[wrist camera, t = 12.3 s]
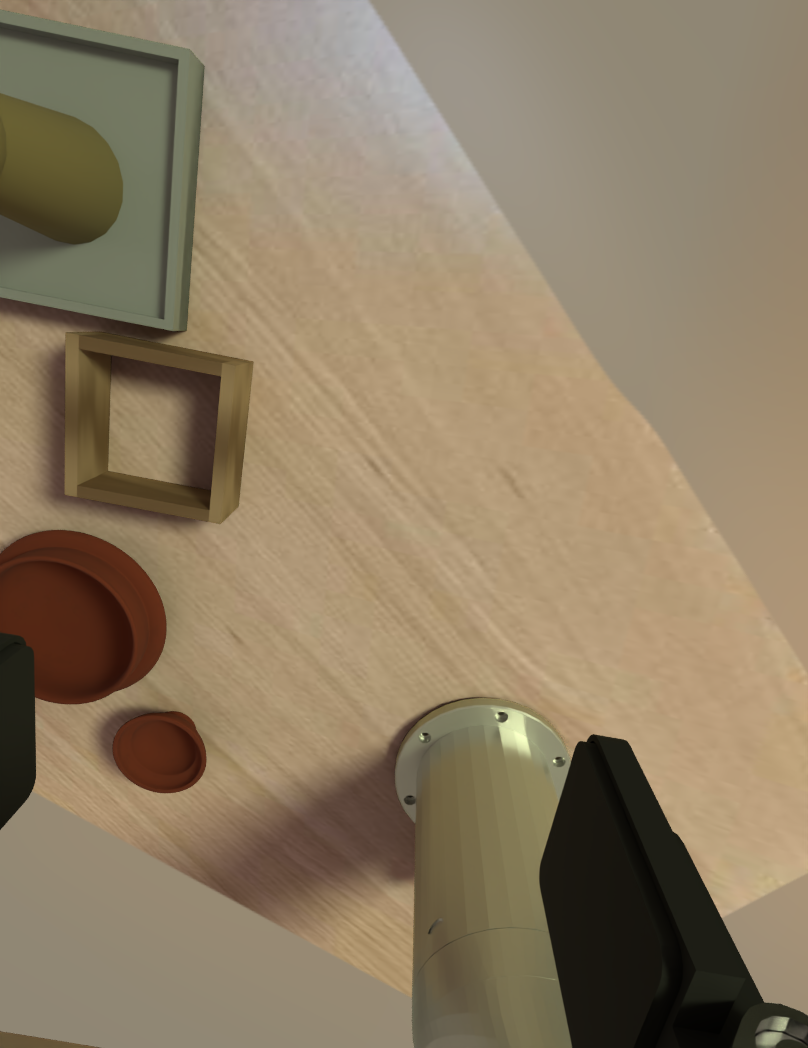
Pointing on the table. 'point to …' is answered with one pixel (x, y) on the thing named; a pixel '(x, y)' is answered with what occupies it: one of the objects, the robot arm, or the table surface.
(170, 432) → the table surface
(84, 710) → the table surface
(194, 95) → the tray
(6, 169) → the olive pawn
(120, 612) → the pottery
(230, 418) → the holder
